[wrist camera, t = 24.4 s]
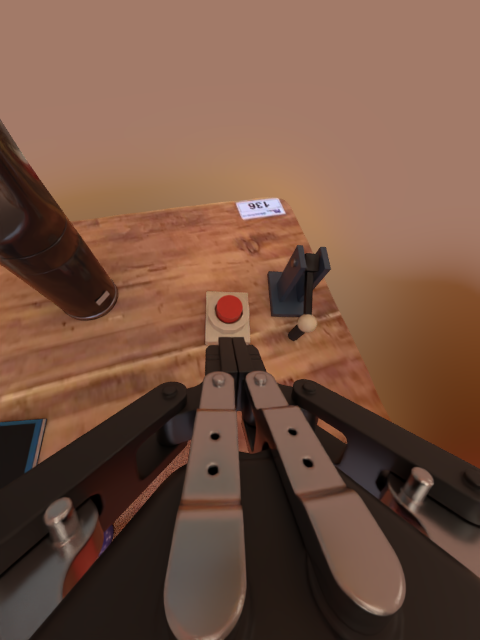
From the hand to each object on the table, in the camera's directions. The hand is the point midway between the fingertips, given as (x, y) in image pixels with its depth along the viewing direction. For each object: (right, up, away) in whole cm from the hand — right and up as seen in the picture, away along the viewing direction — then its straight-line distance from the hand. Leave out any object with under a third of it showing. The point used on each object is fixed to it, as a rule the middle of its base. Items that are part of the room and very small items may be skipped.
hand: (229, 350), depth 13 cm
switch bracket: (+11, +7, +35) cm, 37 cm away
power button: (-1, +3, +27) cm, 27 cm away
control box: (-2, +2, +30) cm, 31 cm away
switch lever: (+12, +6, +26) cm, 29 cm away
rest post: (+11, -1, +31) cm, 33 cm away
